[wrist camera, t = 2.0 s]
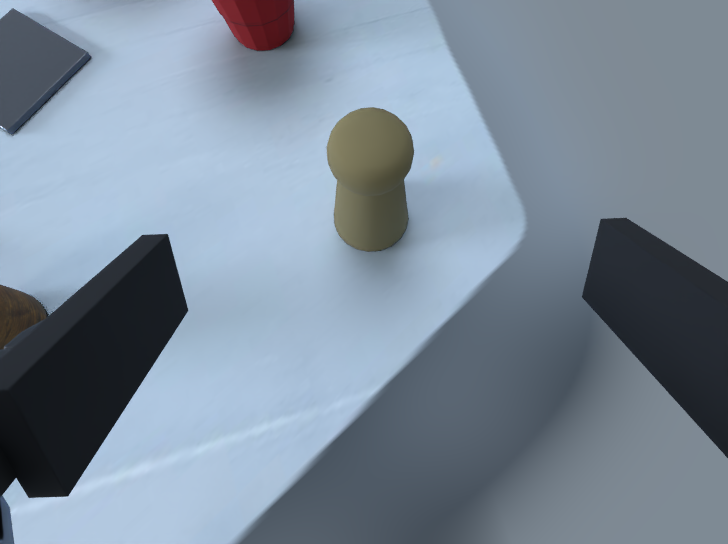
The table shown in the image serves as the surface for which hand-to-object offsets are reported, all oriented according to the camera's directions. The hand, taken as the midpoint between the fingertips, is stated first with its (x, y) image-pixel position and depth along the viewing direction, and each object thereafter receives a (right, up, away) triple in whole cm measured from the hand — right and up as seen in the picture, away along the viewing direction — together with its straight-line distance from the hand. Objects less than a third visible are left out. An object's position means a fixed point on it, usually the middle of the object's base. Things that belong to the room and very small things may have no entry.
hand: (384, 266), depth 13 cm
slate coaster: (-33, +18, +26) cm, 46 cm away
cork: (0, +4, +21) cm, 22 cm away
